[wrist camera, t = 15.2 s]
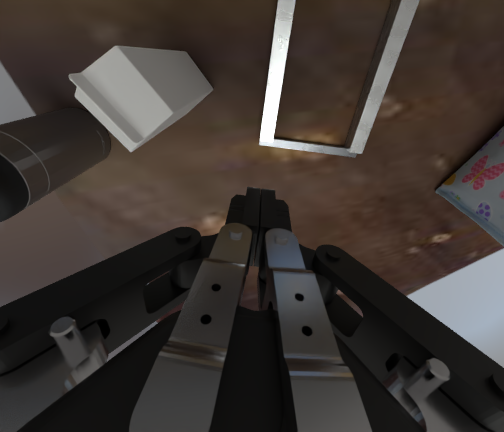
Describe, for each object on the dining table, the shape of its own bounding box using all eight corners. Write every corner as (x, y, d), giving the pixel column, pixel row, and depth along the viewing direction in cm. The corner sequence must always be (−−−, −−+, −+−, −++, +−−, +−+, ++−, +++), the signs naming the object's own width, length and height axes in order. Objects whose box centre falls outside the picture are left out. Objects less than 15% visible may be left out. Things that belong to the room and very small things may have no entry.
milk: (186, 114, 38) (112, 167, 20) (157, 79, 36) (43, 104, 18) (214, 88, 36) (160, 122, 18) (186, 49, 34) (89, 42, 15)
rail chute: (259, 142, 40) (258, 148, 38) (289, -86, 26) (291, -101, 24) (353, 154, 41) (358, 161, 38) (431, -65, 27) (448, -77, 24)
